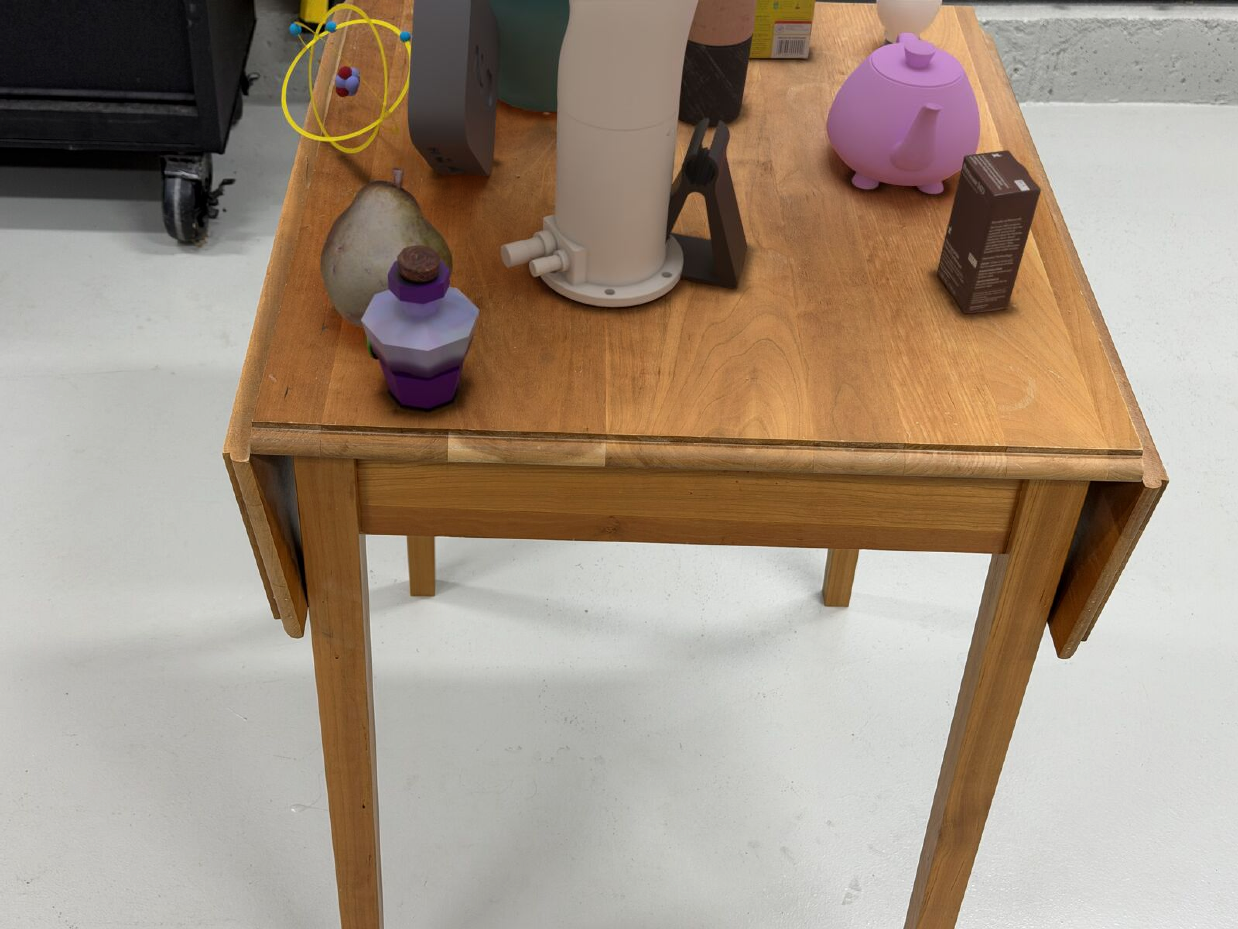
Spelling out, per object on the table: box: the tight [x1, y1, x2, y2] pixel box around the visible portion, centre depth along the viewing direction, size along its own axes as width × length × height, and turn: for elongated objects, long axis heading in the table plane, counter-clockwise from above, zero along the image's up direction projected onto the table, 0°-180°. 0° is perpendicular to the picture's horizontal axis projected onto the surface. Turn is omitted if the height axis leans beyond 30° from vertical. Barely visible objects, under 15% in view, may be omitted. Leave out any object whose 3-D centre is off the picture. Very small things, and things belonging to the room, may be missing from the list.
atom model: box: [280, 3, 412, 154], centre depth 127 cm, size 14×15×14 cm
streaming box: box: [407, 0, 500, 176], centre depth 123 cm, size 14×14×5 cm
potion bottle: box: [361, 245, 480, 413], centre depth 103 cm, size 9×9×12 cm
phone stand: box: [665, 118, 748, 290], centre depth 117 cm, size 9×6×12 cm, turn 78°
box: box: [936, 149, 1042, 314], centre depth 115 cm, size 6×4×12 cm
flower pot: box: [488, 0, 570, 113], centre depth 136 cm, size 18×18×17 cm
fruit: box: [319, 167, 454, 329], centre depth 109 cm, size 10×9×12 cm
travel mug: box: [678, 0, 757, 127], centre depth 133 cm, size 8×8×20 cm
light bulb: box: [875, 0, 943, 46], centre depth 147 cm, size 7×7×11 cm
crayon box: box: [749, 0, 816, 60], centre depth 145 cm, size 7×3×12 cm, turn 94°
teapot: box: [825, 33, 981, 195], centre depth 129 cm, size 20×14×12 cm
